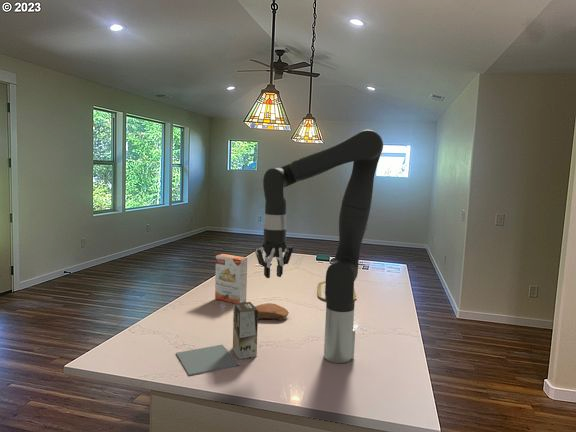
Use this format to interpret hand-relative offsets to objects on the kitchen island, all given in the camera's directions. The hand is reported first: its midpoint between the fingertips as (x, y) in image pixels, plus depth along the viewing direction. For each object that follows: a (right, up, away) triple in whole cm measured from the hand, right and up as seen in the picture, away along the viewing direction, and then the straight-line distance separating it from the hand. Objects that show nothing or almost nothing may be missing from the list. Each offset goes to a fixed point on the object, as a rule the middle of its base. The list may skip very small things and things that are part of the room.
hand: (273, 276), depth 144 cm
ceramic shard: (-3, -22, +32) cm, 39 cm away
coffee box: (-10, -26, -2) cm, 27 cm away
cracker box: (-22, -19, +52) cm, 59 cm away
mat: (-21, -26, -8) cm, 34 cm away
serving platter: (+30, -19, +70) cm, 79 cm away
